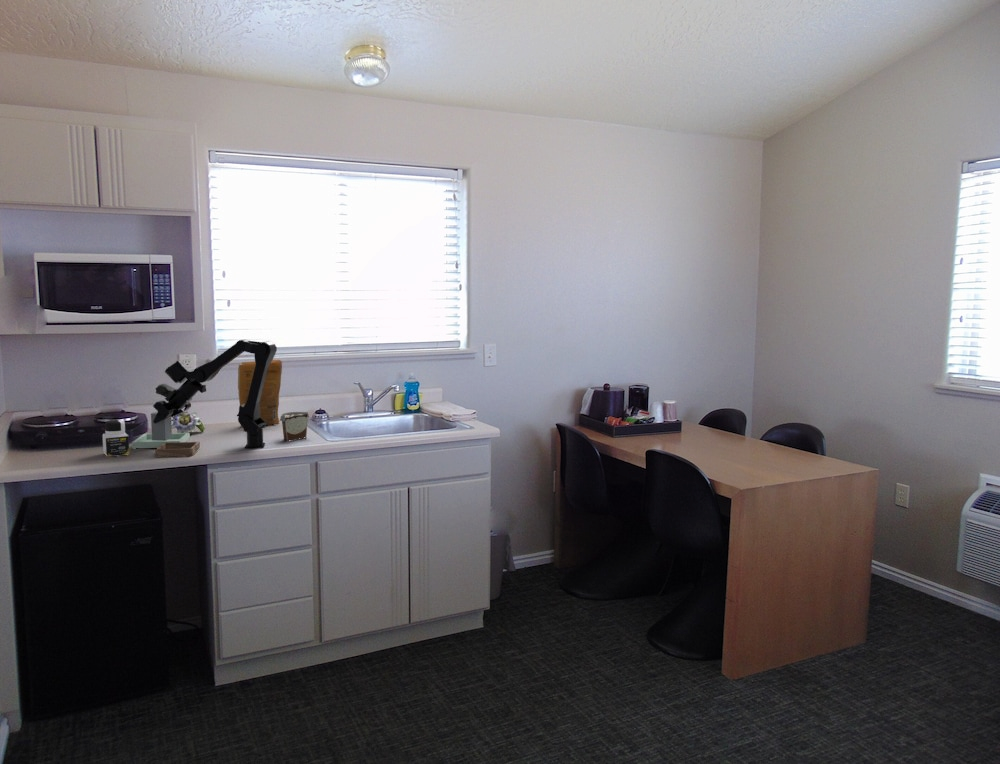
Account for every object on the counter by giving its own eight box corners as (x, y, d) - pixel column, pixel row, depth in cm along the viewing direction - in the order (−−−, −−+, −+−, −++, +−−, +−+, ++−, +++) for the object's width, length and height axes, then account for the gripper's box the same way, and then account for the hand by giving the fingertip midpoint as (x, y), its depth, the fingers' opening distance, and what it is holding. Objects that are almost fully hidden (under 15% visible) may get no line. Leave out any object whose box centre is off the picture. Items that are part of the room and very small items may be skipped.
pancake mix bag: (285, 425, 314) (284, 360, 310) (240, 429, 303) (238, 361, 300) (281, 422, 319) (279, 358, 316) (236, 426, 309) (234, 360, 306)
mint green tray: (144, 440, 278) (144, 433, 277) (189, 439, 281) (189, 432, 281) (132, 449, 262) (132, 442, 262) (180, 448, 265) (179, 441, 265)
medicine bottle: (106, 457, 249) (104, 423, 247) (103, 453, 255) (101, 419, 253) (129, 455, 253) (128, 421, 252) (126, 451, 259) (124, 418, 257)
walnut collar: (164, 449, 263) (164, 442, 263) (199, 448, 265) (199, 441, 265) (155, 456, 251) (155, 449, 251) (192, 455, 254) (192, 448, 253)
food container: (298, 435, 292) (298, 410, 291) (309, 437, 289) (308, 412, 288) (273, 440, 282) (273, 414, 281) (284, 442, 279) (283, 416, 277)
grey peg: (158, 437, 274) (157, 411, 273) (172, 437, 274) (170, 411, 272) (152, 440, 269) (150, 413, 268) (165, 440, 269) (164, 413, 267)
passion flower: (185, 449, 289) (166, 427, 283) (182, 439, 298) (163, 417, 292) (210, 431, 292) (192, 409, 286) (206, 422, 301) (188, 400, 294)
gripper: (181, 373, 278) (154, 402, 279) (157, 379, 259) (128, 410, 261) (203, 394, 278) (175, 422, 280) (180, 402, 260) (151, 432, 261)
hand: (157, 421), depth 270 cm, fingers closed on grey peg, 5 cm apart
